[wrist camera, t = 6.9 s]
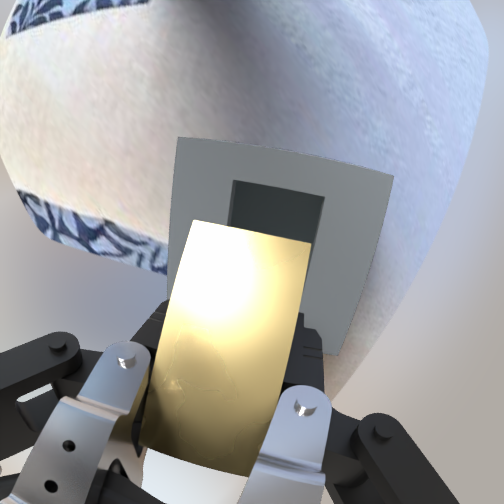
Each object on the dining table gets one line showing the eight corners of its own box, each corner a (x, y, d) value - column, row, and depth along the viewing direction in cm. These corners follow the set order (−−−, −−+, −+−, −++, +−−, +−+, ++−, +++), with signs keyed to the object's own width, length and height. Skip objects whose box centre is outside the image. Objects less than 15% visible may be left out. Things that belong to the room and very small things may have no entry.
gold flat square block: (223, 274, 13) (193, 220, 7) (289, 288, 13) (311, 243, 7) (192, 402, 11) (138, 443, 6) (259, 418, 11) (255, 478, 5)
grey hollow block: (223, 140, 24) (177, 136, 15) (358, 165, 23) (394, 175, 14) (208, 264, 28) (166, 318, 19) (328, 289, 27) (337, 355, 18)
